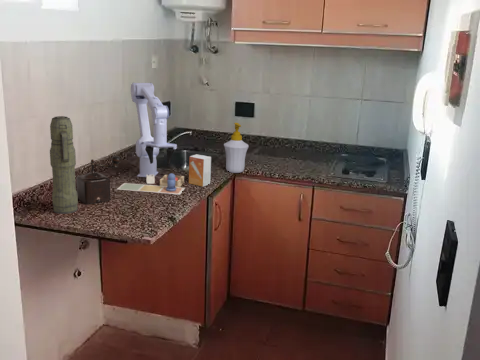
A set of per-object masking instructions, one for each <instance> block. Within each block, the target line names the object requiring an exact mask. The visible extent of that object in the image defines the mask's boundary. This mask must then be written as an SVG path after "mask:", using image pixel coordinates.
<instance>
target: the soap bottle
mask: <svg viewBox="0 0 480 360" xmlns="http://www.w3.org/2000/svg"><path fill="white" fill-rule="evenodd" d="M233 124H234V130H235V131H233V132H232V133H233V134H231V136H230V140H228V141H227V142H224V143H223V147H224V150H225V158H226V159H225V168H226V169H225V170H226V171H227V172H228V171H229V172H228V173H233V174H239V173H242V172H244V171H245V166H246V165H245V163H246V162H245V161H246V160H245V159H246V155H247V151H248V149H249V143H247V142H244V141H243V136H242V134H241V132H240V131H239V130H240V128H242V125H241V124H240V123H239V122H234V123H233Z"/></svg>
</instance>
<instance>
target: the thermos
mask: <svg viewBox="0 0 480 360" xmlns="http://www.w3.org/2000/svg"><path fill="white" fill-rule="evenodd" d="M49 131H50V140H51V143H50V147H49V148H50V149H49V159H50V162H49V163H50V167H51V170H52V171H51V173H52V188H53V189H52V193H51V197H52V199H51V201H52V206H53V208H52V209H53V212H54V213H56V214H62V215H64V214H72V213H75V212H77V211H79V210H78V204H79V201H78V200H79V199H78V195H77V184H76V169H75V167H76V164H77V159H76V149H75V146H74V141H73V139H74V133H73V132H74V129H73V123H72V121H71V119H70V117H68V116H64V115H61V116H60V115H59V116H54V117H52V118H51V120H50V125H49Z"/></svg>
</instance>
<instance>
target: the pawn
mask: <svg viewBox="0 0 480 360" xmlns="http://www.w3.org/2000/svg"><path fill="white" fill-rule="evenodd" d="M167 175H168V181H167V187H166V191H170V192H173V191H176V187H175V174H174V173H172V172H171V173H168V174H167Z"/></svg>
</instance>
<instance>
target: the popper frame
mask: <svg viewBox="0 0 480 360" xmlns="http://www.w3.org/2000/svg"><path fill="white" fill-rule="evenodd" d="M168 175H169V174H164V175H163V176H162V177H161V178H160V179H159V186H167V181H168V180H166V178H167V177H168ZM174 175H175V174H174ZM175 177H177V178H178V181H177V180H175V187H181V188H182V186H183V184H184V183H185V175H175Z"/></svg>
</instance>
